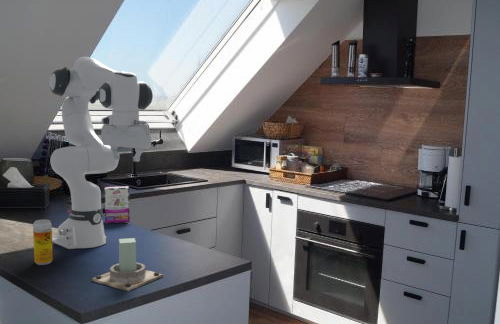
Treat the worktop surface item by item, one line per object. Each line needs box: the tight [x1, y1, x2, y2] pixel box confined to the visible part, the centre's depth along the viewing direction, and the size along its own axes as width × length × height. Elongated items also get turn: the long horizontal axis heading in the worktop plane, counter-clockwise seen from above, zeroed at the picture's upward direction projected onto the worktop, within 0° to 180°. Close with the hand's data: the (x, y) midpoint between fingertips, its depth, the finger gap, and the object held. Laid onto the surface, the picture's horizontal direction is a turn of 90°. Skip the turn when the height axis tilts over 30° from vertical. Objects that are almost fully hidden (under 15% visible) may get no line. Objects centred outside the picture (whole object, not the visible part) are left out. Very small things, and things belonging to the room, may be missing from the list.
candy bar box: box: [103, 185, 131, 224], centre depth 250 cm, size 11×5×16 cm, turn 104°
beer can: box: [32, 219, 54, 266], centre depth 191 cm, size 6×6×15 cm
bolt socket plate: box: [91, 261, 164, 292], centre depth 177 cm, size 16×16×4 cm
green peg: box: [118, 237, 137, 272], centre depth 176 cm, size 5×5×12 cm
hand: (126, 160), depth 186 cm, fingers open, 8 cm apart
